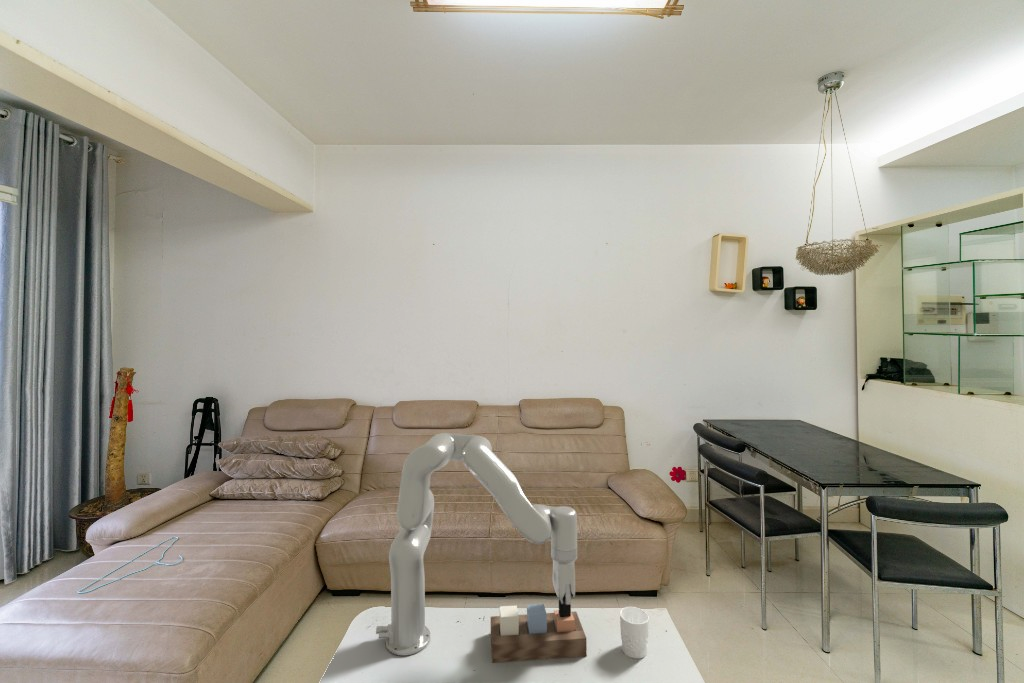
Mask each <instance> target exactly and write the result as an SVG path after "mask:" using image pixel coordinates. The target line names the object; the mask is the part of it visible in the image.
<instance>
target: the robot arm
mask: <svg viewBox="0 0 1024 683" xmlns="http://www.w3.org/2000/svg"><path fill="white" fill-rule="evenodd" d="M450 461H453V462H462V464H463V465H464V467H465V468H466V469H467V470H468V472H470V473H471V475H473V477H474V478H475V479H476V480H477V481H478V482H479V483H480V484H481V485H482V486H483V488H485V489H486V490H487V492H488V493H490V494H491V496H492V497H493V498H494V500H495V502H496V503H497V505H498V506H499V508H500V509H501V510H502V512H503V514H504V515H505V516H506V518H507V519H508V520H509V521H510V523H511V524H512V526H513V527H514V528H515V529H516V530H517V531H518V532H519V533H520V534H521V535H522V536H523V538H525V539H526V540H527V541H528V542H530V543H531V544H534V545H543V544H545V543H547V542H548V541H549V540H550V547H551V548H550V555H551V556H550V557H551V559H552V577H551V578H552V585H553V588H554V592H555V594H556V596H557V598H558V610H559V614H560V617H570V616H571V612H572V602H571V597H572V599H573V598H575V596H576V570H575V562H576V561H577V559H578V515H577V511H576V510H575V509H574V508H572V507H570V506H567V505H566V506H565V505H560V506H559V505H558V506H551V505H546V504H539V503H538V504H537V503H536V504H532V503H531V502H530V501H529V500H528V498H527V496H526V495H525V494H524V492H523V490H522V487H521V485H520V483H519V481H518V479H517V477H516V475H515V474H514V473H513V472H512V471H511V470H510V468H508V466H507V465H506V464H505V463H504V462H503V461H502V460H501V459H499V457H498V455H496V454H495V453H494V452H493V447H492V443H491V442H490V440H489V439H488V438H486V437H484V436H482V435H476V434H464V433H451V432H441V433H436V434H435V435H433V436H432V437H431V438H430V439H429V440H428V441H427V442H426V443H424V444H423V445H421V446H419V447H416V448H415V449H413V450H412V451H411V452H410V453H408V455H407V456H406V457H405V460H404V462H403V465H402V470H401V477H400V483H399V493H398V499H397V505H396V506H397V507H396V519H397V522H398V525H400V527H401V528H400V530H399V531H398V533H397V534H396V536H394V539H393V541H392V543H391V545H390V547H389V552H388V553H389V554H388V561H389V562H388V563H389V569H390V591H391V592H390V595H391V596H390V598H391V601H390V603H391V604H390V605H391V606H390V607H391V615H390V616H391V618H390V620H391V623H389V624H387V625H377V626H376V628H375V633H376V635H378V639H385V646H386V649H387V650H388V652H390V653H391V652H392V653H391V654H393V653H394V654H393V655H396V654H397V656H411V655H414V654H417V653H419V652H420V651H423V649H425V648H426V647H427V645H429V643H430V640H431V631H430V629H429V628H428V627H427V626H426V615H425V614H426V609H425V608H426V600H425V597H426V596H425V594H426V590H425V588H426V584H425V583H426V582H425V581H426V580H425V567H424V556H425V552H426V549H427V547H428V545H429V542H430V541H431V540H430V539H431V535H432V529H433V520H434V511H435V509H434V508H435V496H434V493H433V491H432V490H431V489H430V488H431V475H433V473H434V472H436V471H438V470H440V469H442V468H444V467H446V466H447V464H449V462H450Z"/></svg>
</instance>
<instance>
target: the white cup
mask: <svg viewBox="0 0 1024 683" xmlns="http://www.w3.org/2000/svg"><path fill="white" fill-rule="evenodd" d="M619 621H620V622H619V623H620V624H619V625H620V639H621V649H622V651H623V653H624V654H625V656H627V657H629V658H632V659H637V660H638V659H642V658H645V657H646V656H647V654H648V642H649V628H650V627H649V626H650V624H649V623H650V616H649V614H648V613H647V612H646V611H645V610H644V609H642V608H639V607H636V606H626V607H625V606H624V607H622V609H620V611H619Z"/></svg>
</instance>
